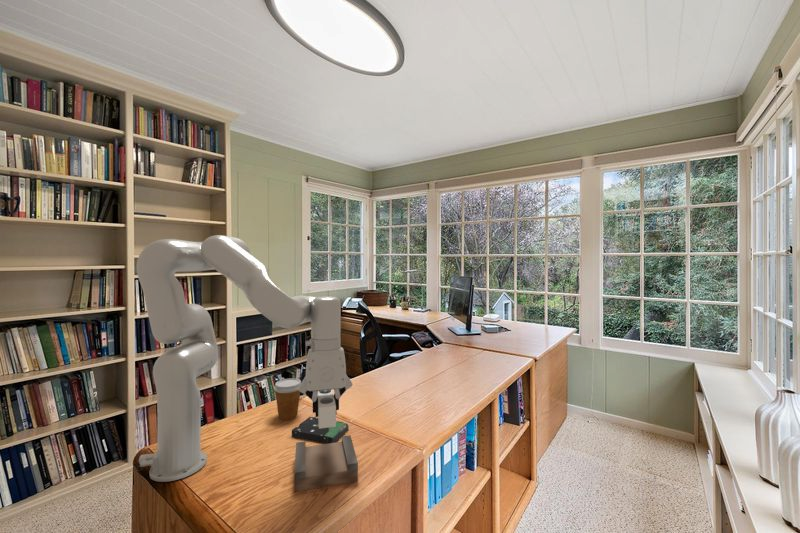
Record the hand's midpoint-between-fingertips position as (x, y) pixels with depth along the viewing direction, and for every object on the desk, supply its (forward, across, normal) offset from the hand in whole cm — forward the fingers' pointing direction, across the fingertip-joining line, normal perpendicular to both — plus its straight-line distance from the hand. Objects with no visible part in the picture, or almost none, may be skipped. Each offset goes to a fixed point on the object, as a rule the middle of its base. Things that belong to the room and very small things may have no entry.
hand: (325, 413), depth 87 cm
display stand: (+15, 0, 0) cm, 15 cm away
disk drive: (+15, 0, +20) cm, 25 cm away
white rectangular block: (+1, 0, 0) cm, 1 cm away
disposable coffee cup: (+15, -11, +35) cm, 40 cm away
